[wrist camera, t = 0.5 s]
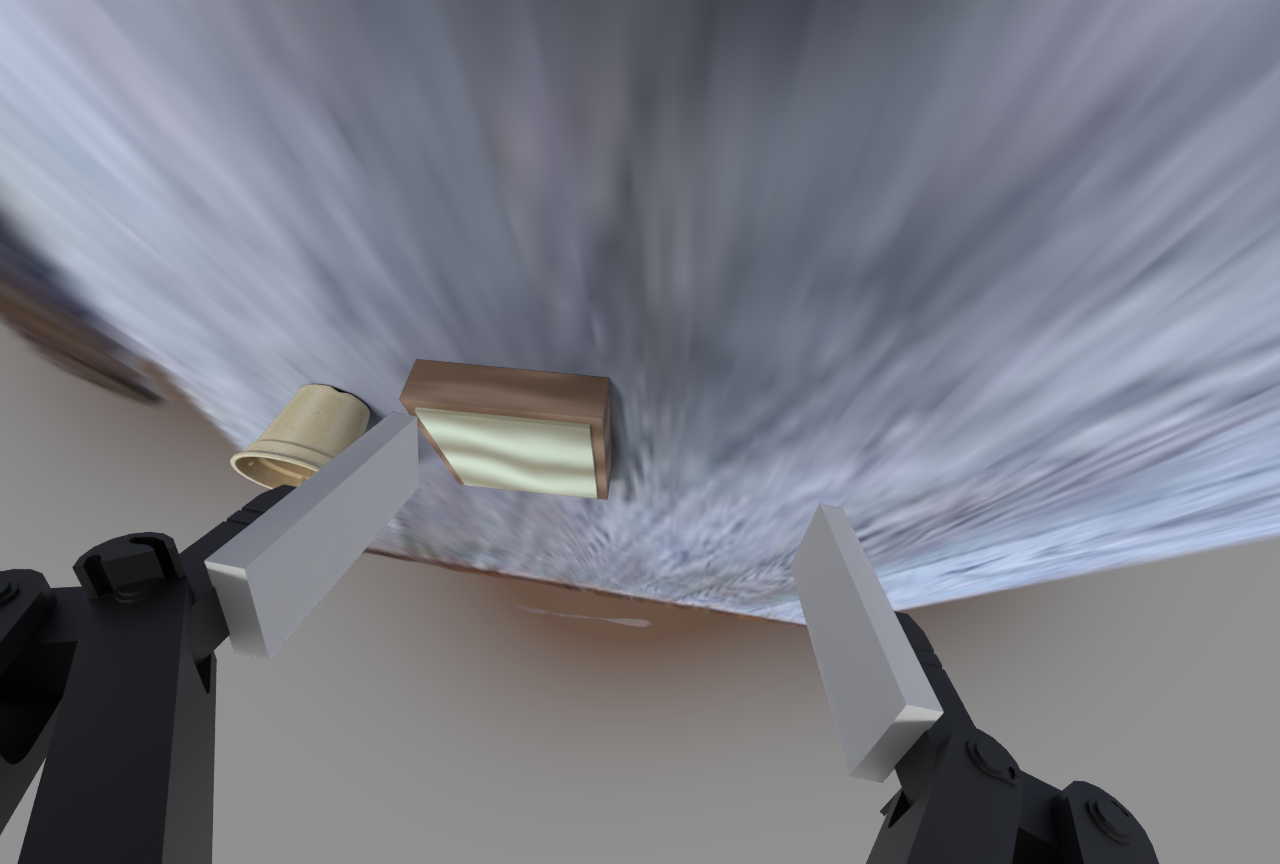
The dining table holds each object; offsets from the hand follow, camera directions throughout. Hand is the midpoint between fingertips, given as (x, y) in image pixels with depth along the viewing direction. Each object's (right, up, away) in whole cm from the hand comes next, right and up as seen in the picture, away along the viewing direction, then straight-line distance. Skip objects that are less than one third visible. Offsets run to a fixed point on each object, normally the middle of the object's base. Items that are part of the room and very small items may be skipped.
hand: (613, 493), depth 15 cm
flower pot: (-29, +5, +31) cm, 42 cm away
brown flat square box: (-10, +3, +30) cm, 32 cm away
